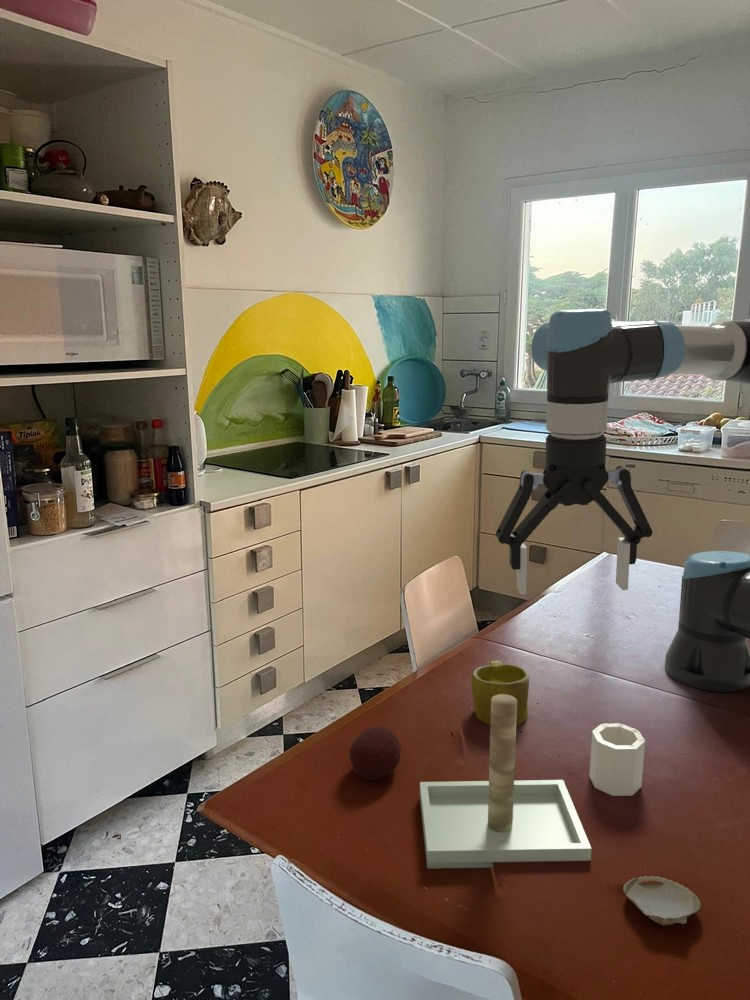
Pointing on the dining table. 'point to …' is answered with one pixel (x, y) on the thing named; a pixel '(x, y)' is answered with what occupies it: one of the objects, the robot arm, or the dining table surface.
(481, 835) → the tray
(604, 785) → the crock
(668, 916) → the seashell
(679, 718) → the dining table surface
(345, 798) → the dining table surface
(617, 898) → the dining table surface
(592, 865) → the dining table surface
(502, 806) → the dowel
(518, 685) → the mug
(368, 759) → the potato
